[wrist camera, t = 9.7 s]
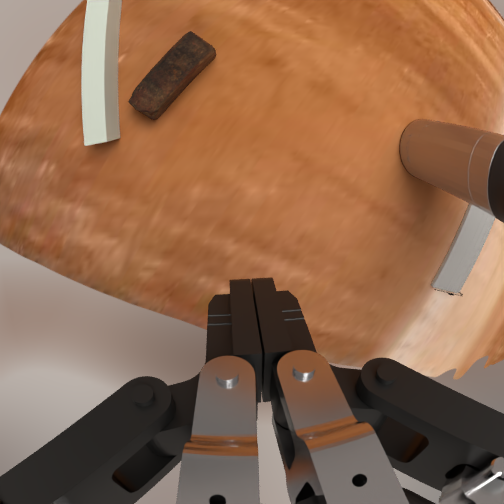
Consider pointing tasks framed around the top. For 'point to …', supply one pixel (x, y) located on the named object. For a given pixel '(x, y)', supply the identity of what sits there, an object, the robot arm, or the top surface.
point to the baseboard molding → (464, 250)
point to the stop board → (100, 71)
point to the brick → (172, 75)
